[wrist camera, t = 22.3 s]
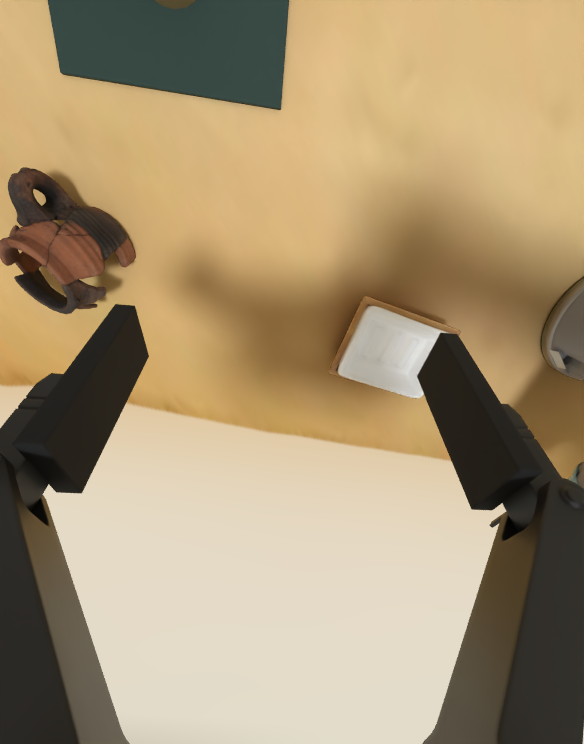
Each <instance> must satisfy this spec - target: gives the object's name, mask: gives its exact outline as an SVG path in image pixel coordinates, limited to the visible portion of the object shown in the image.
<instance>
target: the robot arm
mask: <svg viewBox="0 0 584 744" xmlns="http://www.w3.org/2000/svg"><path fill="white" fill-rule="evenodd" d="M542 352H543V355H544V358H545V360H546V361H547V363H548V364H549V365H550V366H551V367H553V368H554V369H556V370H557V371H559V372H561V373H563V374H564V375H566V376H569V377H571V378H575V379H578V380H583V381H584V278H583V279H581V280H580V281H579V282H577V283H576V284H575V285H574V286H573V287H572V288H571V289H570V290H569V291H568V292H567V293H566V294H565V295H564V296H563V297H562V298H561V299H560V301H559V302H558V303H557V304H556V306H555V307H554V309H553V310H552V312H551V314H550V316H549V318H548V320H547V322H546V324H545V327H544V331H543V335H542ZM148 357H149V355H148V351H147V348H146V344H145V341H144V337H143V333H142V330H141V326H140V323H139V319H138V316H137V312H136V308H135V306H130V305H118V304H115V306H114V307H113V308H112V310H111V311H110V312H109V314H108V315H107V316H106V318H105V319H104V320H103V322H102V323H101V324H100V326H99V327H98V329H97V330H96V331H95V333H94V334H93V335H92V337H91V338H90V339H89V341H88V342H87V343H86V345H85V346H84V347H83V349H82V350H81V352H80V353H79V354H78V356H77V357H76V358H75V360H74V361H73V362H72V364H71V365H70V366H69V368H68V369H67V370H66V372H65V373H64V374H53V373H51V374H50V375H48V376H47V377H45V378H44V379H42V380H41V381H39V382H38V383H37V384H36V385H35V386H34V387H33V388H32V390H31V391H30V392H29V393H28V395H27V396H26V397H27V398H26V399H24V400H23V401H22V402H21V403H20V405H19V406H18V409H16V410H15V411H14V412H13V413H12V415H11V416H10V417H9V418H8V420H7V421H6V422H5V423H4V425H3V426H2V427H1V428H0V744H129V742H128V741H127V740H126V738H125V736H124V735H123V732H122V730H121V727H120V725H119V721H118V718H117V715H116V712H115V709H114V706H113V703H112V700H111V697H110V694H109V691H108V688H107V684H106V681H105V678H104V675H103V672H102V669H101V666H100V663H99V660H98V657H97V654H96V651H95V648H94V645H93V642H92V639H91V636H90V633H89V630H88V626H87V623H86V621H85V617H84V614H83V611H82V608H81V605H80V602H79V599H78V596H77V593H76V590H75V587H74V584H73V581H72V578H71V574H70V571H69V568H68V565H67V562H66V560H65V556H64V553H63V550H62V547H61V544H60V541H59V538H58V535H57V532H56V529H55V526H54V523H53V520H52V516H51V513H50V510H49V507H48V504H47V501H46V499H45V497H44V496H43V495H42V494H43V493H44V491H45V489H46V488H47V486H48V484H49V485H50V486H51V487H52V488H53V489H54V490H55V491H56V492H61V493H62V492H63V493H82V491H83V490H84V488H85V486H86V484H87V481H88V479H89V477H90V475H91V473H92V471H93V469H94V467H95V465H96V463H97V461H98V459H99V457H100V455H101V453H102V451H103V449H104V447H105V445H106V443H107V441H108V438H109V437H110V434H111V432H112V430H113V428H114V426H115V424H116V422H117V420H118V418H119V416H120V414H121V412H122V410H123V408H124V406H125V404H126V402H127V400H128V398H129V396H130V394H131V392H132V390H133V388H134V386H135V383H136V381H137V379H138V377H139V375H140V373H141V371H142V369H143V367H144V365H145V363H146V361H147V359H148ZM417 378H418V380H419V383H420V385H421V388H422V390H423V393H424V395H425V397H426V400H427V402H428V405H429V407H430V410H431V412H432V414H433V417H434V419H435V422H436V424H437V427H438V429H439V431H440V434H441V436H442V439H443V441H444V444H445V446H446V448H447V451H448V453H449V456H450V458H451V460H452V463H453V465H454V468H455V470H456V472H457V475H458V477H459V480H460V482H461V485H462V487H463V489H464V492H465V494H466V497H467V499H468V502H469V504H470V506H471V509H474V510H493V509H495V508H496V507H497V506H498V505H500V504H501V503H503V505H504V507H505V509H506V512H505V513H504V514H502V515H501V516H499V517H498V518H496V519H495V520H494V521H492V522H491V524H490V526H491V527H494V526H496V525H497V524H499V527H498V530H497V533H496V536H495V539H494V542H493V546H492V549H491V552H490V555H489V558H488V562H487V565H486V568H485V571H484V574H483V578H482V581H481V584H480V587H479V590H478V594H477V597H476V600H475V603H474V607H473V610H472V613H471V616H470V619H469V623H468V626H467V629H466V632H465V635H464V638H463V641H462V645H461V648H460V651H459V655H458V657H457V661H456V664H455V667H454V670H453V673H452V677H451V680H450V683H449V686H448V690H447V693H446V696H445V699H444V703H443V706H442V709H441V712H440V715H439V718H438V722H437V724H436V726H435V729H434V730H433V732H432V733H431V735H430V736H429V737H428V738H427V739H426V740H425V741H424V742H423V744H582V742H583V727H584V462H581V463H580V464H579V465H578V466H576V468H575V470H574V473H573V475H572V476H571V477H570V478H569V479H564V478H562V477H561V476H560V475H559V473H558V472H557V470H556V469H555V467H554V466H553V464H552V463H551V461H550V460H549V458H548V457H547V455H546V454H545V452H544V451H543V449H542V448H541V446H540V445H539V443H538V442H537V440H536V439H534V436H533V434H532V433H531V431H530V430H528V427H527V425H526V424H525V422H524V421H523V419H522V418H521V416H520V415H519V414H518V413H517V412H516V411H515V410H514V409H513V408H511V407H510V406H509V405H508V404H501V403H500V401H499V400H498V398H497V397H496V395H495V393H494V392H493V390H492V389H491V387H490V385H489V384H488V382H487V381H486V379H485V378H484V376H483V374H482V373H481V371H480V370H479V368H478V366H477V365H476V363H475V362H474V360H473V359H472V357H471V355H470V354H469V352H468V351H467V349H466V347H465V346H464V344H463V343H462V341H461V339H460V338H459V336H458V335H457V334H451V333H440V335H439V336H438V338H437V340H436V342H435V344H434V346H433V347H432V349H431V351H430V353H429V355H428V357H427V359H426V360H425V362H424V364H423V366H422V368H421V370H420V371H419V373H418V375H417Z"/></svg>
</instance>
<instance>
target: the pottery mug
mask: <svg viewBox="0 0 584 744" xmlns="http://www.w3.org/2000/svg"><path fill="white" fill-rule="evenodd" d="M33 189H36V190H38V191H40V192H42V193H43V194H44V195H45V197H46V203H45V204H44V205H43V206H41V205H40V204H39V203H38V202H37V200H36V199H35V197H34V194H33ZM8 191H9V195H10V198H11V200H12V203H13V205H14V207H15V209H16V211H17V222H18V223H19V224H20V225H21V226H23V227H21V228H19V227H18V226H16V225H15V226H14V227H13V228H12V230H11V232H10V235H9V237H7V238H3V239H2V240H1V241H0V258H1V260H2V262H3V263H4V264H5V265H7V266H9V265H12V264H14V263H16V265H17V266H18V267H19V268H20V269H21V271H22V272H23V273H24V274H23V275H19V276H15V277H14V278H15V280H16V282H17V283H18V284H19V285H20V286H21V287H22V288H23V289H24V290H25V291H26V292H27V293H28V294H29V295H31V296H32V297H33V298H34V299H36V300H37V301H39V302H40V303H42V304H43V305H45V306H47V307H48V308H50V309H52V310H54V311H57V312H59V313H63V314H69V313H72V312H73V311H74V310H75V309H76V308H77V309H90V308H96V307H97V304H91V303H94V302H96V301H97V300H98V299H101V298H103V297H104V296H105V294H106V288H105V287H97V288H96V287H94V286H91V285H88V284H85V283H84V282H82V281H80V280H79V279H85V278H88V277H94V276H99V275H101V273H102V272H103V271H104V269H105V264H104V260H106V259H107V258H108V257H109V256H110V255H111V254H112V253H113V251H115V253H116V255H117V257H118V259H119V261H120V264H121V266H122V267H127V266H128V265H129V264H130V263H131V262H132V261H133V260H134V259H135V252H134V249H133V247H132V244H131V242H130V241H129V239H128V237H127V235H126V234H125V232H124V231H123V230H122V228H121V226H120V225H119V224H118V223H117V222H116V221H115V220H114V219H113V218H112V217H111V216H109V215H108V214H107V213H105V212H103V211H101V210H99V209H98V208H95V207H80V206H77V203H76V202H74V201H73V200H72V199H71V198H70V197H69V196H68V195H67V193H66V192H65V191H64V189H63V188H62V187H61V186H60V185H59V184H58V183H57V182H56V181H55V180H53V179H52V178H50V177H49V176H48V175H46V174H45V173H43V172H41V171H38V170H36V169H30V168H21V169H20V171H19V172H18V173H14V174H12V175H11V177H10V179H9V182H8ZM54 219H56V220H66V221H65V222H64V224H63V225H62V226H61V227H60V226H59V225H58V224H57V223H55V222H53V221H52V220H54ZM18 249H19V250H21V251H23V252H21V253H19V251H18ZM41 265H43V266H45V267H46V268H47V270H48V271H49V272H50V273H51V274H52V275H53V276H54V277H55V278H56V280H57V281H58V282H59V283H60V284H61V286H62V288H63V290H64V292H65V294H66V297H67V298H66V297H65V296H64V295H62V294H60V293H59V292H57V291H56V290H54V289H53V288H52V287H51V286H50V285H49V284H48V282H47V281H46V279H45V278H44V276H43V275H42V274H41V272H40V271H39V267H40V266H41Z"/></svg>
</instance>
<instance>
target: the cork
mask: <svg viewBox="0 0 584 744" xmlns="http://www.w3.org/2000/svg"><path fill="white" fill-rule="evenodd" d="M154 1H156V2H157V3H159V4H160V5H162V6H164V7H168V8H172V9H179V8H185V7H188V6H189V5H191V4H192V3H193V2H195V1H196V0H154Z"/></svg>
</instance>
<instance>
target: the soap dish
mask: <svg viewBox="0 0 584 744" xmlns="http://www.w3.org/2000/svg"><path fill="white" fill-rule="evenodd" d="M440 333H451V334H457V335H458V336H459V335H460V333H461V331H460V330H457V329H454V328H452V327H449V326H446V325H444V324H441V323H438V322H436V321H433V320H430V319H428V318H425V317H422V316H419V315H417V314H414V313H411V312H408V311H406V310H403V309H400V308H398V307H395V306H392V305H389V304H387V303H384V302H381V301H378V300H376V299H373V298H370V297H367V296H364V298H363V299H362V301H361V303H360V305H359V307H358V309H357V311H356V313H355V316H354V318H353V320H352V322H351V324H350V326H349V328H348V330H347V332H346V334H345V337H344V339H343V341H342V343H341V345H340V347H339V349H338V351H337V353H336V355H335V358H334V360H333V362H332V365H331V367H330V370H329V373H330V374H332V375H335V376H339V377H342V378H346V379H349V380H352V381H355V382H359V383H362V384H366V385H369V386H372V387H376V388H379V389H382V390H386V391H390V392H393V393H397V394H400V395H404V396H407V397H411V398H415V399H417V398H420V397H422V396H423V395H424V393H423V390H422V388H421V385H420V383H419V380H418V378H417V375H418V373H419V371H420V370H421V368H422V366H423V364H424V362H425V360H426V359H427V357H428V355H429V353H430V351H431V349H432V347H433V346H434V344H435V342H436V340H437V338H438V336H439V335H440Z"/></svg>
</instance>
